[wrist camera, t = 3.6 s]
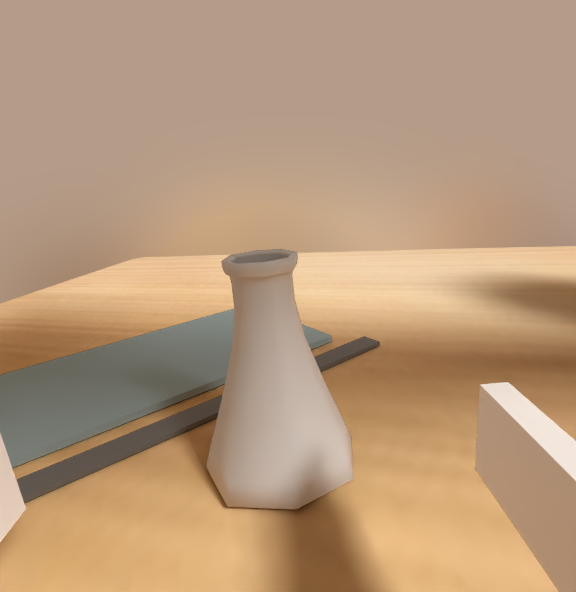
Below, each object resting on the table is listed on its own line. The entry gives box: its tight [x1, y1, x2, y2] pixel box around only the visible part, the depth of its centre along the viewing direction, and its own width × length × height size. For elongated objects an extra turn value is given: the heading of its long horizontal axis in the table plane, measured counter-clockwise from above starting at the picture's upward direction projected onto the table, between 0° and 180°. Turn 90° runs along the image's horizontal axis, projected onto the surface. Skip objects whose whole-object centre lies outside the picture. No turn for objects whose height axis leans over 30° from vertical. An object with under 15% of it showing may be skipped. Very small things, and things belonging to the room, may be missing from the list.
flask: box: [206, 249, 353, 509], centre depth 18 cm, size 7×7×10 cm
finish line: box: [17, 337, 380, 503], centre depth 23 cm, size 30×2×1 cm, turn 126°
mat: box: [0, 309, 332, 468], centre depth 30 cm, size 26×13×1 cm, turn 126°
